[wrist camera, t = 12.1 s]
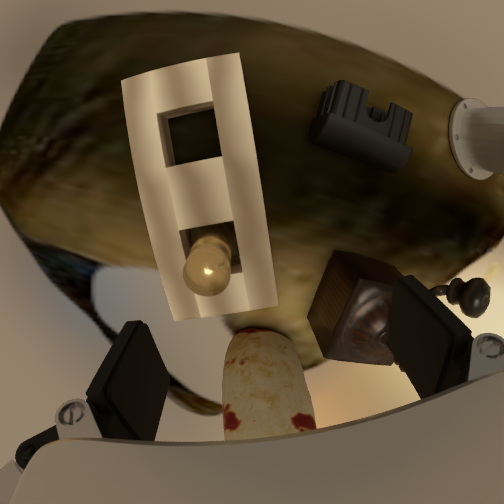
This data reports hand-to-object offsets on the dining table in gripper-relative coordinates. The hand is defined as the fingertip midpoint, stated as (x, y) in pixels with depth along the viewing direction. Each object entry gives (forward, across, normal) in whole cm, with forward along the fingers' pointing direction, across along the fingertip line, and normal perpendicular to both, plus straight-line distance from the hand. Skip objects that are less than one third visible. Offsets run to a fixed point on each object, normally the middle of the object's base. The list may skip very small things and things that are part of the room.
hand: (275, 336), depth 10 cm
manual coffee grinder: (+25, -12, +12) cm, 31 cm away
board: (+24, +5, -3) cm, 25 cm away
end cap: (+26, -13, -7) cm, 29 cm away
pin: (+24, +5, +3) cm, 25 cm away
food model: (+25, +3, +18) cm, 31 cm away
